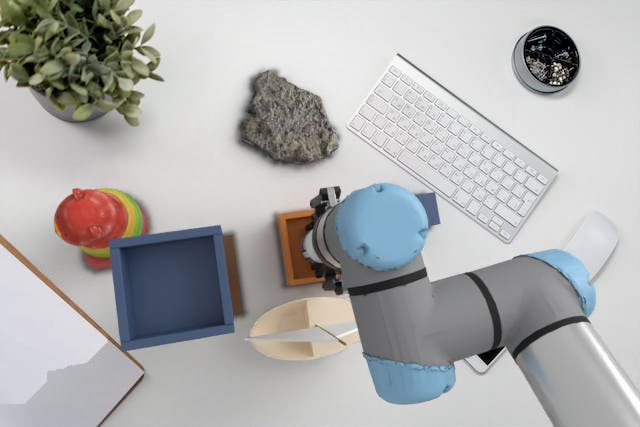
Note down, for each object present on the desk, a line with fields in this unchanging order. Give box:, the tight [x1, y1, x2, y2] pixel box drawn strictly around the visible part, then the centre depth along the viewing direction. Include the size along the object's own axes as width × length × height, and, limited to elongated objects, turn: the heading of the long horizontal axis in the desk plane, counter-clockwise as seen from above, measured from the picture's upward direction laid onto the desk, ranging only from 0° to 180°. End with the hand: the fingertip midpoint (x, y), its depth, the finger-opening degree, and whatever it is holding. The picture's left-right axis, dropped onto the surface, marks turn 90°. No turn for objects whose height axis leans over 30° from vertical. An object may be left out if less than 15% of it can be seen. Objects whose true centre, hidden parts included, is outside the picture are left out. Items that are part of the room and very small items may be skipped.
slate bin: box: [109, 224, 244, 353], centre depth 63 cm, size 12×12×34 cm
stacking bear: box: [53, 187, 149, 271], centre depth 69 cm, size 11×10×18 cm
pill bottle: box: [300, 229, 323, 264], centre depth 77 cm, size 5×5×10 cm
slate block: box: [414, 191, 441, 228], centre depth 83 cm, size 5×5×5 cm
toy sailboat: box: [244, 296, 360, 362], centre depth 69 cm, size 21×25×9 cm
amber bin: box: [276, 207, 339, 287], centre depth 81 cm, size 11×11×4 cm
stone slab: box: [240, 69, 340, 165], centre depth 83 cm, size 12×17×3 cm
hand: (317, 246), depth 81 cm, fingers closed on pill bottle, 5 cm apart
